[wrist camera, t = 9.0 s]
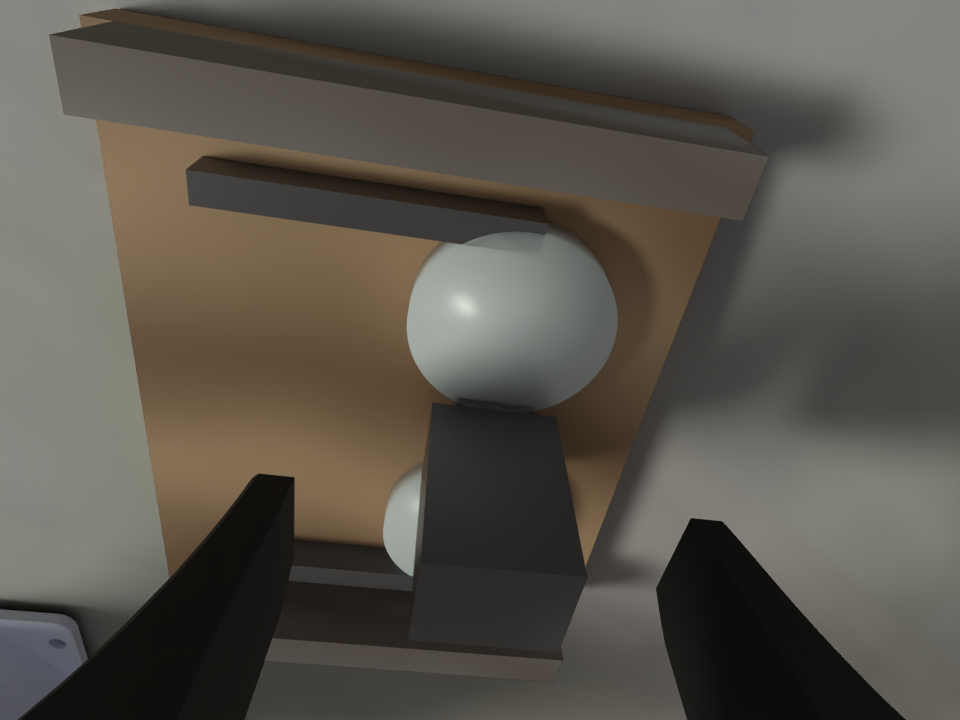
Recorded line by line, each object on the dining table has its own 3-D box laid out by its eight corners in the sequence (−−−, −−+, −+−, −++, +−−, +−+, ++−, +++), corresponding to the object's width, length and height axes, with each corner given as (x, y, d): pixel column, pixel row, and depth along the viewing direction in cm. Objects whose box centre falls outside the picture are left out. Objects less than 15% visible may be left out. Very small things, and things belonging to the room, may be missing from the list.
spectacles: (527, 575, 17) (546, 767, 13) (233, 549, 16) (157, 745, 12) (637, 222, 12) (728, 366, 8) (203, 155, 11) (49, 278, 7)
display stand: (558, 587, 19) (572, 683, 17) (187, 554, 18) (143, 651, 16) (729, 116, 12) (800, 162, 9) (115, 8, 11) (8, 28, 8)
